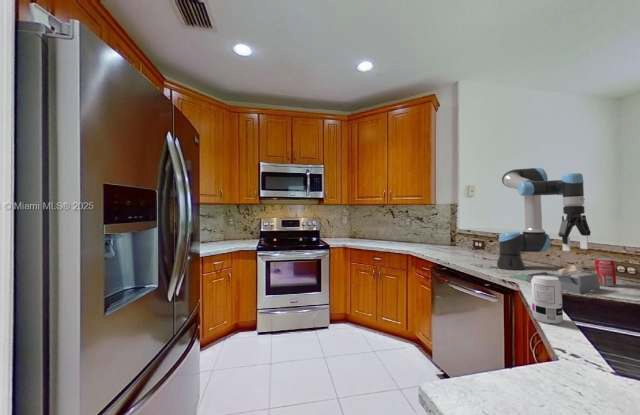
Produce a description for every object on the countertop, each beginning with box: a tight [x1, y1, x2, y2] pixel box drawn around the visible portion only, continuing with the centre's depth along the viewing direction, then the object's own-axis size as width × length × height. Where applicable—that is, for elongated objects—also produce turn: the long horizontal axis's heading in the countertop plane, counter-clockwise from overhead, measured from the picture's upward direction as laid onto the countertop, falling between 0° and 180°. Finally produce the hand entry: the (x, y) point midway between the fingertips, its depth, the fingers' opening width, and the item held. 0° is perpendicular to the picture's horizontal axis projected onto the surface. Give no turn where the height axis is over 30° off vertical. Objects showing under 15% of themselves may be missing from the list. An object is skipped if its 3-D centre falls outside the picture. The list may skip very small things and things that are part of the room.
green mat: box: [508, 273, 528, 282], centre depth 156 cm, size 10×12×1 cm
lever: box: [552, 268, 585, 279], centre depth 139 cm, size 18×13×2 cm
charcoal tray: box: [526, 271, 601, 294], centre depth 139 cm, size 23×15×8 cm, turn 20°
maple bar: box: [557, 263, 583, 275], centre depth 135 cm, size 8×4×2 cm, turn 19°
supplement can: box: [530, 275, 564, 324], centre depth 97 cm, size 8×8×15 cm
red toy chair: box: [594, 257, 617, 288], centre depth 138 cm, size 7×7×13 cm
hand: (575, 249), depth 133 cm, fingers open, 13 cm apart
